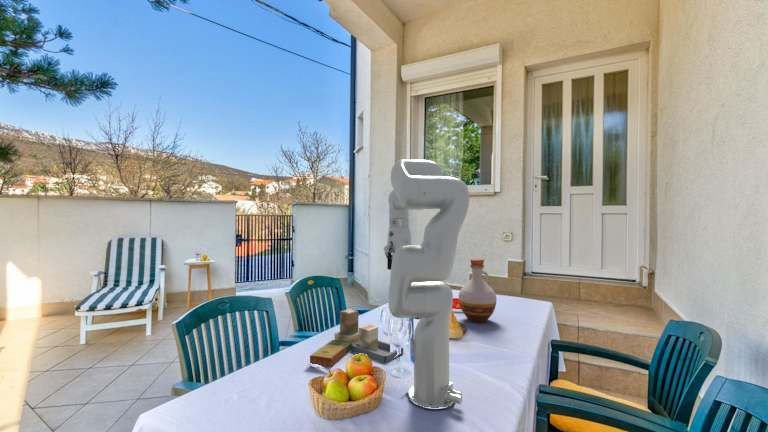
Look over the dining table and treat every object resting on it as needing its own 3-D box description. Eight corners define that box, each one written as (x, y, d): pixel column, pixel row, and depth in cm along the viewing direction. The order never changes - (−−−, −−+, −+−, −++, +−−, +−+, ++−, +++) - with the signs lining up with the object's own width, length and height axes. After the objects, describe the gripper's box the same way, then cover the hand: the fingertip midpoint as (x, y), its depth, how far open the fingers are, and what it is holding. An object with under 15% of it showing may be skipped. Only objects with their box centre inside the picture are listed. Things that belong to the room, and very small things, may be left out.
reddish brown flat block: (309, 367, 108) (309, 354, 108) (332, 350, 123) (332, 338, 123) (332, 371, 106) (332, 358, 106) (352, 352, 121) (352, 341, 121)
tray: (403, 356, 117) (403, 347, 117) (385, 365, 109) (385, 356, 109) (369, 345, 127) (369, 337, 127) (351, 353, 119) (351, 345, 119)
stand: (364, 345, 127) (364, 331, 127) (349, 351, 121) (349, 337, 121) (349, 340, 132) (349, 327, 132) (334, 346, 126) (334, 332, 126)
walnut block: (358, 331, 127) (358, 310, 128) (348, 335, 124) (348, 313, 124) (349, 329, 131) (349, 308, 131) (339, 332, 127) (340, 311, 127)
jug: (474, 312, 173) (474, 255, 174) (505, 320, 160) (505, 258, 160) (450, 319, 161) (450, 258, 161) (482, 328, 147) (482, 261, 148)
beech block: (377, 348, 121) (378, 327, 121) (368, 353, 117) (368, 330, 117) (367, 345, 124) (367, 324, 124) (358, 349, 120) (358, 327, 120)
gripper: (393, 223, 117) (393, 271, 117) (419, 223, 131) (419, 266, 131) (377, 223, 122) (377, 269, 122) (403, 223, 136) (403, 265, 135)
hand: (398, 268), depth 126 cm, fingers open, 9 cm apart
